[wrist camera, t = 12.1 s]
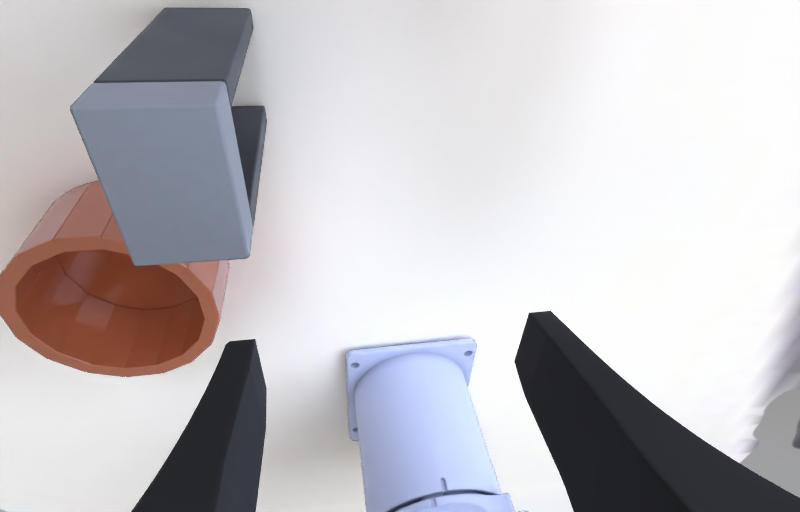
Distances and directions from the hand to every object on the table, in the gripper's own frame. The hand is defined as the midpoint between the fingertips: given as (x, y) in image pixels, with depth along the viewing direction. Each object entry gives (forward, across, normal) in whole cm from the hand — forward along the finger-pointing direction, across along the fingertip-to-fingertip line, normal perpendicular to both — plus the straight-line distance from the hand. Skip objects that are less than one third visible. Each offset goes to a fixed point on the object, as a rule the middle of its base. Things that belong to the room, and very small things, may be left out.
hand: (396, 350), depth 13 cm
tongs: (+10, +5, -4) cm, 12 cm away
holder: (+10, +10, +4) cm, 15 cm away
